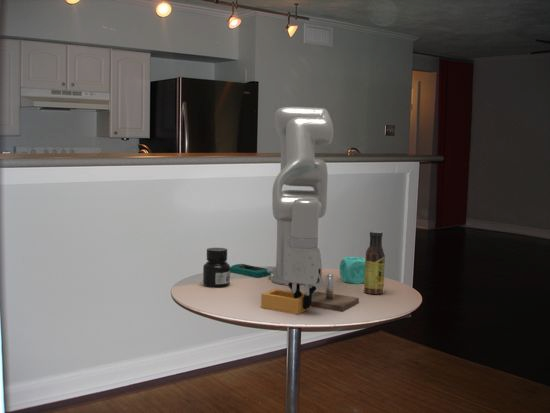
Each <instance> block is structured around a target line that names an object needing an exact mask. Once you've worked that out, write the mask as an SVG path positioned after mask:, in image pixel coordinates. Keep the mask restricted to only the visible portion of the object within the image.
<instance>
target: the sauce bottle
mask: <svg viewBox="0 0 550 413" xmlns="http://www.w3.org/2000/svg"><path fill="white" fill-rule="evenodd" d="M369 239H370V240H369V246H368V248H367V249H366V252H365V259H366V260H365V275H364V283H363V289H364V290H363V291H364V293H366V294H370V295H382V294H383V293H384V292H383V291H384V285H385V283H384V282H385V265H386V264H385V261H386V256H385V253H384V249H383V246H382V245H383V243H382V240H383V232H382V231H377V230H375V231H369Z"/></svg>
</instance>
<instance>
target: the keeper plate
mask: <svg viewBox="0 0 550 413" xmlns="http://www.w3.org/2000/svg"><path fill="white" fill-rule="evenodd" d="M325 281H326V283H325V285H326V286H325V292H324V291H317V290H316V291H315V292H314V293H313V294H312V301H311V307H313V308H314V307H315V308H319V309H326V310H331V311H335V312H342V313H343V312H344V311H346V310H348V309H350V308H351V307H353V306H355V305H357V304H359V302H360V301H359V300H360V297H354V296H350V295H349V296H348V295H343V294H336V293H333V292H334V275H333V273H328V274H327V275H326V280H325Z"/></svg>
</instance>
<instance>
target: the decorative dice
mask: <svg viewBox="0 0 550 413" xmlns="http://www.w3.org/2000/svg"><path fill="white" fill-rule="evenodd" d="M365 260H366V258H364V257H358V256H346V257H343V258H342V259H341V261H340V264H339V275H340V279H341V281H342V282H344V283H347V284H352V283H353V285H355V284H357V285H359V284H364V275H365Z"/></svg>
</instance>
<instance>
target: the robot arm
mask: <svg viewBox="0 0 550 413" xmlns="http://www.w3.org/2000/svg"><path fill="white" fill-rule="evenodd" d="M274 124H275V125H274V126H275V130H276V132H277V135H278V138H279V141H280V171H279V173H278V174H277V175H276V177H275V179H274V182H273V186H272V191H271V192H272V198H271V199H272V207H271V208H272V215H273V217H274V218H275V220H276V256H275V257H276V259H275V260H276V264H275V266H274V267H273V266H268V267H266V268H267V273H271V274H272V276H271V278H270V279H271V282H273V283H275V284H277V285H286V286H288V287H289V288H290V291H292V293H294V298H298V297H301V296H302V293H303V292H302V291H301V285H304V286H305V291H304V292H305V293H304V294H305V295H304V297H303V308H304V309H307V308H310V306H311V301H312V294H313V293H314V292H317V290H319V289H323V288H324V282H323V280H322V277H323V276H322V274H323V273H322V272H323V270H322V269H323V268H322V267H323V266H322V258H321V257H322V256H321V251H320V248H318V245H319V244H318V241H319V240H318V238H319V237H318V236H319V219H321V218H323V217H324V216H325V214H326V213H327V203H328V201H327V199H328V181H329V180H328V166H327V163H326V162H325V161H324V160H323V159H321V158H316V157H315V146H328V145H331V143H332V142H333V138H334V125H333V121H332V118H331V116H330V113H329V111H328V110H327V108H323V107H311V106H310V107H307V106H306V107H305V106H285V107H284V106H283V107H280V108H278V109H277V110H276V111H275V114H274ZM284 185H285V186H289V187H309V188H313V190H305V189H303V190H302V189H285V190H284V189H283V186H284ZM315 284H316V285H315ZM311 307H312V306H311ZM310 309H311V308H310Z"/></svg>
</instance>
